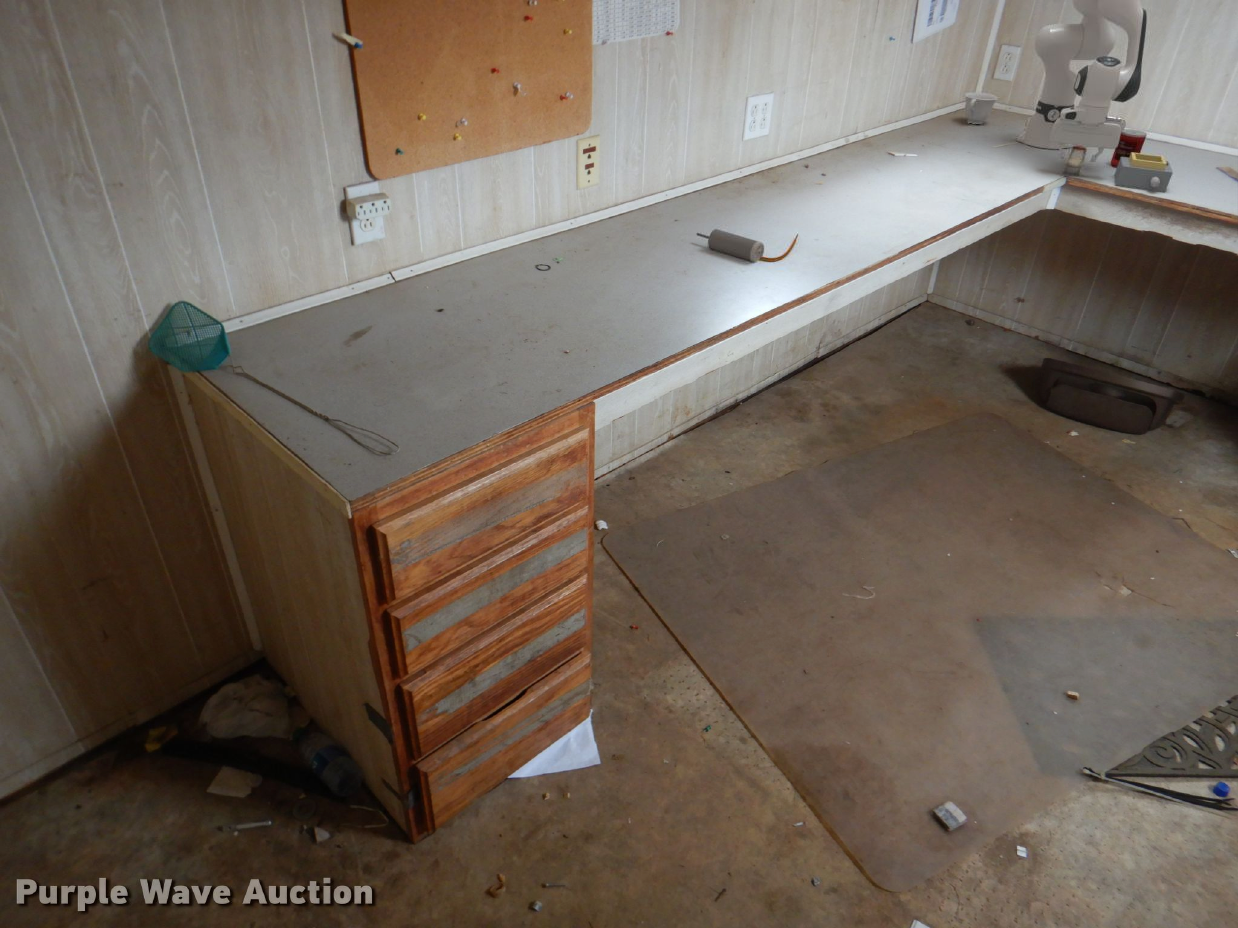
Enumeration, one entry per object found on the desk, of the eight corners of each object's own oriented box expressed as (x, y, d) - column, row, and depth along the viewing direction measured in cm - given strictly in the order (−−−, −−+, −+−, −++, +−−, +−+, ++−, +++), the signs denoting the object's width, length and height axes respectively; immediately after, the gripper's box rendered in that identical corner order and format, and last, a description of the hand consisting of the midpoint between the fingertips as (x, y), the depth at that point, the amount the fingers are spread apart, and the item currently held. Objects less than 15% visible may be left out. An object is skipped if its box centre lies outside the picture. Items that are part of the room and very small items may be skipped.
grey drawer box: (1114, 175, 279) (1123, 150, 275) (1161, 182, 275) (1171, 156, 270) (1116, 188, 268) (1125, 162, 263) (1166, 195, 263) (1176, 168, 259)
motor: (764, 268, 206) (769, 247, 204) (690, 244, 217) (693, 225, 215) (809, 257, 223) (814, 238, 221) (738, 236, 234) (741, 217, 232)
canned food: (1129, 163, 292) (1141, 129, 286) (1138, 170, 285) (1151, 136, 279) (1106, 162, 292) (1117, 128, 286) (1114, 168, 286) (1126, 134, 280)
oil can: (1063, 171, 282) (1071, 144, 277) (1079, 173, 281) (1087, 146, 276) (1062, 174, 278) (1071, 148, 274) (1079, 177, 277) (1088, 150, 272)
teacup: (950, 124, 330) (957, 96, 325) (965, 118, 340) (972, 91, 334) (981, 130, 324) (988, 102, 318) (995, 123, 334) (1002, 96, 328)
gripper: (1127, 116, 268) (1111, 161, 276) (1056, 109, 274) (1043, 153, 282) (1128, 120, 263) (1112, 166, 271) (1056, 112, 269) (1043, 158, 277)
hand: (1076, 159), depth 276 cm, fingers open, 8 cm apart
